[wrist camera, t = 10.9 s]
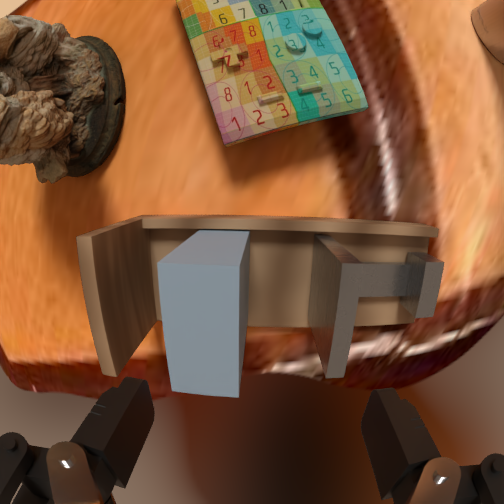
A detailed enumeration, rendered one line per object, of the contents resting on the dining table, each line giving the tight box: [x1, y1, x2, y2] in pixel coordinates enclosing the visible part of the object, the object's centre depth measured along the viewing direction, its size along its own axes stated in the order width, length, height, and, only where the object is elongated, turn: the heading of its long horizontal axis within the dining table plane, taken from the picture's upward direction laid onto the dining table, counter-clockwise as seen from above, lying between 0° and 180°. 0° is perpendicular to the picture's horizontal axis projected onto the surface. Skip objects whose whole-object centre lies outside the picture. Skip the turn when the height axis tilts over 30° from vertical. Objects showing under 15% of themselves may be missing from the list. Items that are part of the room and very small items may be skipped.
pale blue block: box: [157, 229, 250, 397], centre depth 20 cm, size 4×8×11 cm, turn 179°
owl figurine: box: [0, 15, 125, 183], centre depth 15 cm, size 18×12×17 cm, turn 20°
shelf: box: [76, 215, 439, 377], centre depth 21 cm, size 27×10×11 cm, turn 89°
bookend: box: [308, 234, 444, 378], centre depth 20 cm, size 11×8×9 cm
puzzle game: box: [176, 0, 368, 147], centre depth 19 cm, size 12×5×20 cm
